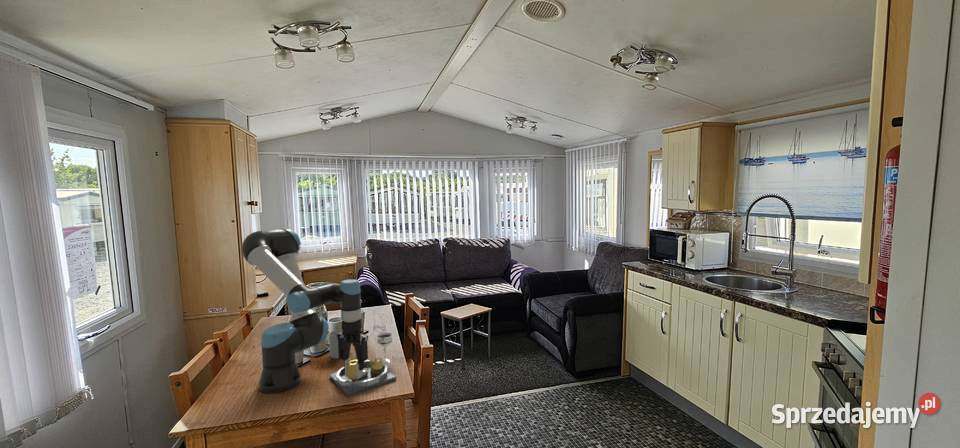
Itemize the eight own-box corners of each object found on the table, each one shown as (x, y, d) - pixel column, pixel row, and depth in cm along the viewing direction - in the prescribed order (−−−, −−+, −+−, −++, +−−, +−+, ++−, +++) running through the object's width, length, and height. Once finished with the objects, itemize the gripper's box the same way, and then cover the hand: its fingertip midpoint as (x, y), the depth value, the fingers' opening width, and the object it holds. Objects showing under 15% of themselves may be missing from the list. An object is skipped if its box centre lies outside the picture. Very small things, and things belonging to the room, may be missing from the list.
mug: (336, 360, 176) (336, 337, 175) (326, 355, 181) (325, 333, 180) (358, 351, 186) (357, 329, 185) (347, 347, 191) (346, 326, 190)
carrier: (348, 396, 144) (347, 375, 143) (329, 377, 159) (329, 358, 158) (396, 379, 157) (395, 359, 156) (375, 363, 172) (374, 345, 171)
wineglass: (381, 357, 179) (380, 332, 178) (395, 357, 178) (394, 332, 177) (375, 363, 172) (374, 337, 171) (389, 364, 171) (388, 338, 170)
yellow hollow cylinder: (355, 380, 149) (354, 365, 149) (344, 378, 151) (344, 364, 150) (362, 375, 154) (362, 360, 153) (352, 373, 155) (352, 359, 155)
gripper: (376, 318, 151) (378, 375, 153) (339, 314, 157) (342, 369, 159) (364, 324, 144) (366, 384, 146) (326, 320, 150) (329, 377, 152)
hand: (354, 376), depth 152 cm, fingers closed on yellow hollow cylinder, 5 cm apart
